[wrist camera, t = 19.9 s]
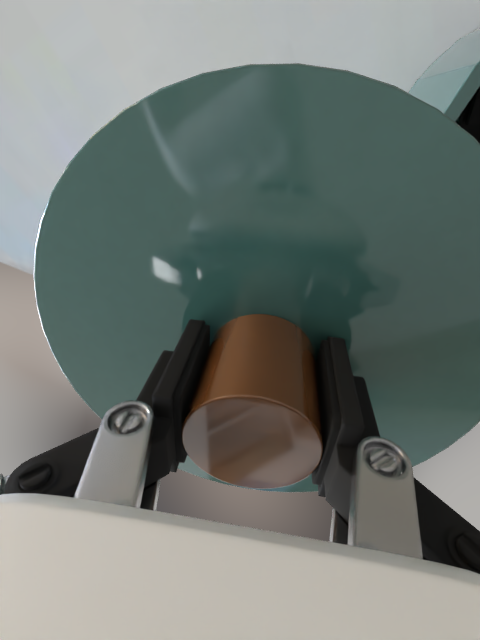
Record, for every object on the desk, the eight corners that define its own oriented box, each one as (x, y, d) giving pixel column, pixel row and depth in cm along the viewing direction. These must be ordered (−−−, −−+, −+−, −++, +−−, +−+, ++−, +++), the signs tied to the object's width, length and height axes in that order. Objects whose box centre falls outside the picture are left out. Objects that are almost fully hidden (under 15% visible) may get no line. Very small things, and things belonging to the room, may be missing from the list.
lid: (95, 443, 19) (37, 541, 15) (-14, 48, 9) (-281, -7, 5) (411, 494, 18) (450, 619, 13) (665, 92, 8) (1115, 67, 4)
